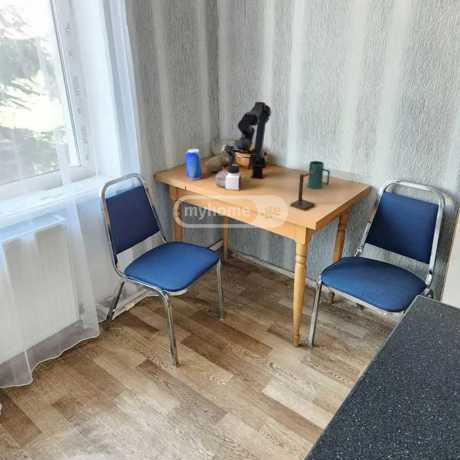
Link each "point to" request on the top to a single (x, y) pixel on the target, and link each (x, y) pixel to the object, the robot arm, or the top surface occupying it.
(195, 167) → the beer can
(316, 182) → the mug
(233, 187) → the medicine bottle
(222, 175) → the food item
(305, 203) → the mug stand
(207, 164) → the brown rounded lump
